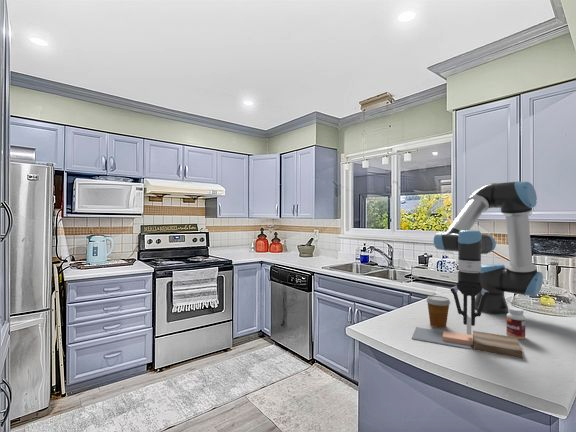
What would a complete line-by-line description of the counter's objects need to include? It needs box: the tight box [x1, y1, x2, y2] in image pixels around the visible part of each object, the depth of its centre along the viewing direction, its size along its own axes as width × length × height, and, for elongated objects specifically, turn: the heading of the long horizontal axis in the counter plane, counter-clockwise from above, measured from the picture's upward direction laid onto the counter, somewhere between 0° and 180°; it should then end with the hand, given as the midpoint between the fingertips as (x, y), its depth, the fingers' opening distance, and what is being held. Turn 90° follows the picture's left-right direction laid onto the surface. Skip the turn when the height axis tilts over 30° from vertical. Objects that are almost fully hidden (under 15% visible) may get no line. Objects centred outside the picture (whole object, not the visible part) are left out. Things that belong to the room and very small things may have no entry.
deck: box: [472, 330, 523, 359], centre depth 118 cm, size 14×14×2 cm
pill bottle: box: [505, 307, 527, 340], centre depth 128 cm, size 6×6×11 cm
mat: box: [411, 326, 472, 350], centre depth 126 cm, size 14×20×1 cm
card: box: [442, 330, 474, 346], centre depth 123 cm, size 7×10×2 cm
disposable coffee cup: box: [426, 295, 451, 329], centre depth 140 cm, size 10×10×12 cm
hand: (468, 333), depth 122 cm, fingers closed
